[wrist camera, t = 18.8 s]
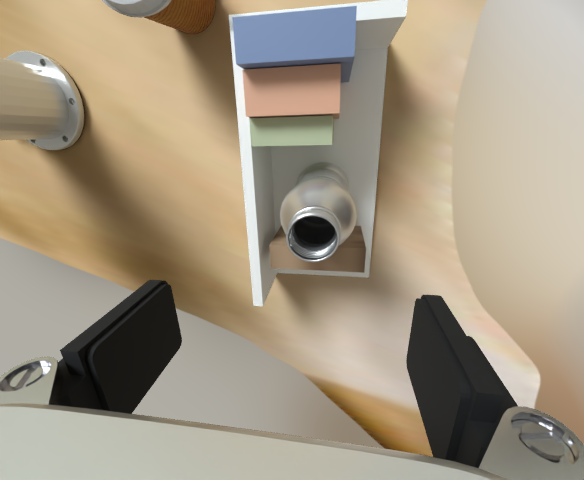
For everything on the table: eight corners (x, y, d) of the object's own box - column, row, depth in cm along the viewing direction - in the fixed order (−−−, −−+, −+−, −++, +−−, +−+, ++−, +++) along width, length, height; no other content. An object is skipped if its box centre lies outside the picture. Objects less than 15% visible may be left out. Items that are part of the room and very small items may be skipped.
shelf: (271, 269, 44) (246, 320, 32) (258, 47, 34) (214, 0, 22) (368, 274, 42) (380, 330, 30) (387, 37, 32) (417, -21, 20)
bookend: (282, 243, 41) (270, 268, 34) (281, 224, 40) (269, 245, 33) (359, 246, 40) (364, 272, 32) (360, 226, 38) (366, 248, 31)
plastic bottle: (293, 166, 37) (252, 202, 19) (344, 154, 36) (354, 182, 17) (303, 212, 39) (276, 286, 21) (352, 203, 38) (369, 273, 19)
